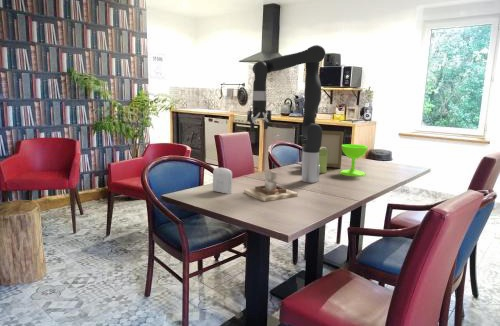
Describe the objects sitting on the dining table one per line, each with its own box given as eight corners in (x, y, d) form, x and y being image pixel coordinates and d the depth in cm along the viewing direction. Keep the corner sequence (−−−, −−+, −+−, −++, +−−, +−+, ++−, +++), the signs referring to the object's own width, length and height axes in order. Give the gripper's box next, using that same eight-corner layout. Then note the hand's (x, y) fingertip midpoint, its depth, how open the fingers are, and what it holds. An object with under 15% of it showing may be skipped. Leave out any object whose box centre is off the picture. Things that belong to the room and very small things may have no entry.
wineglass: (362, 171, 244) (364, 144, 241) (367, 177, 228) (370, 148, 225) (338, 170, 245) (339, 143, 242) (341, 175, 230) (343, 147, 226)
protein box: (326, 173, 237) (328, 149, 235) (302, 172, 238) (303, 148, 235) (323, 169, 248) (325, 146, 245) (300, 169, 248) (302, 146, 245)
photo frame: (340, 168, 251) (342, 132, 247) (308, 166, 258) (310, 130, 253) (341, 165, 265) (343, 130, 261) (311, 163, 272) (313, 129, 267)
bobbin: (271, 189, 187) (272, 169, 185) (278, 192, 182) (279, 172, 180) (262, 190, 184) (262, 171, 182) (268, 193, 179) (269, 173, 177)
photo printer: (233, 192, 185) (233, 168, 183) (228, 194, 181) (229, 169, 179) (216, 189, 190) (216, 166, 188) (211, 191, 186) (211, 167, 184)
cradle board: (275, 187, 196) (276, 181, 195) (297, 196, 181) (298, 189, 181) (243, 192, 185) (244, 186, 185) (264, 201, 171) (264, 194, 170)
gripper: (252, 99, 194) (251, 130, 197) (274, 99, 201) (273, 129, 204) (244, 99, 200) (244, 129, 203) (266, 99, 207) (265, 128, 210)
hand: (259, 129), depth 203 cm, fingers open, 8 cm apart
